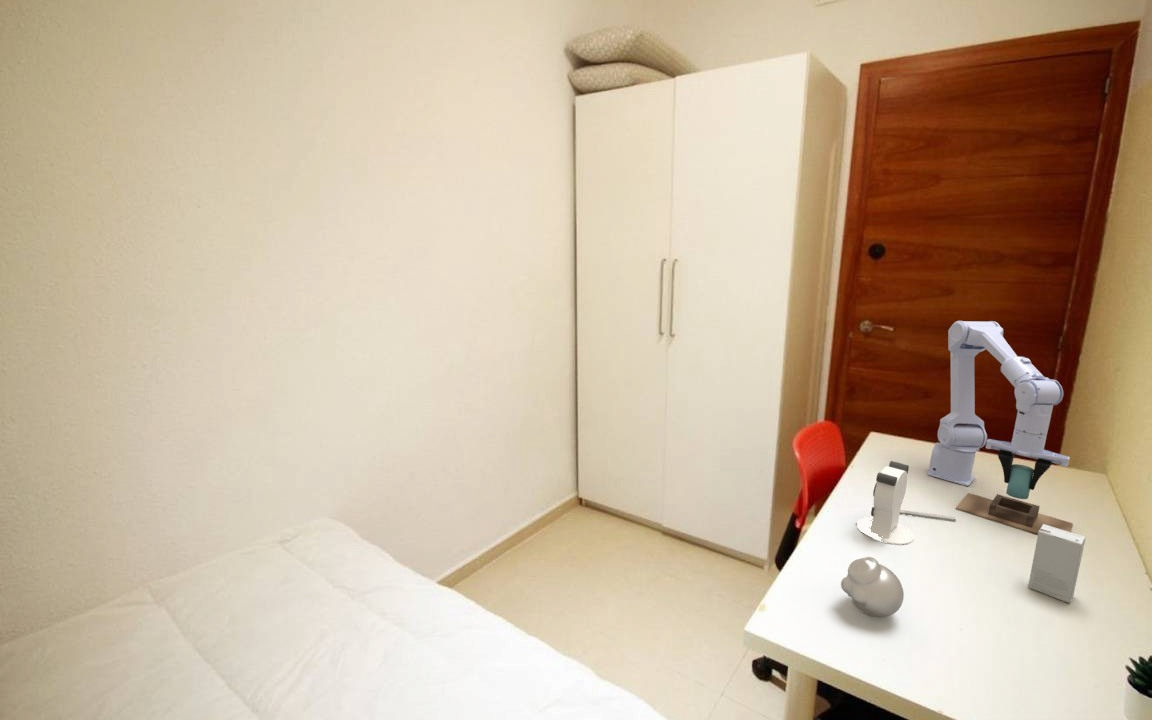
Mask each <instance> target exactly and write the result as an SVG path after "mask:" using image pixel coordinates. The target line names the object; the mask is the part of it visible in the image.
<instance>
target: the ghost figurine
mask: <svg viewBox="0 0 1152 720" xmlns="http://www.w3.org/2000/svg"><path fill="white" fill-rule="evenodd" d="M840 587H841V589H842V591H844V593H845V594H847V596H848V597H850V598H851V603H852V604H853V605H854V606H855V607H856V608H857V609H858V610H859V611H860V612H862V613H863V614H866V615H868V616H869V617H870V616H871V617H874V618H886V617H887V618H888V617H891V616H892V615H894V614H896V613H897V612H898V611H899V610H900V609H901V607H902V606H903V603H904V598H905V597H904V596H905V595H904V588H903V585H902V582H901V581H900V579H899V578H898V576H897V575H896V574H895V573H894V572H893V571H892V570H891V569H890V568H888V567H886V566H884V565H882V564H881V563H879V561H878V560H877V559H876V558H874V557H871V556H866V557H862V558H858V559H857V558H856V559H855V560H853V561H851V563H850V564H849V566H848V569H847V574H846V577H844V578H842V579H841V582H840Z"/></svg>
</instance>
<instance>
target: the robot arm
mask: <svg viewBox="0 0 1152 720" xmlns="http://www.w3.org/2000/svg"><path fill="white" fill-rule="evenodd" d="M947 335H948V337H947V338H948V339H947V340H948V343H947V344H948V347H947V348H948V351H949V352H950V412H949V413H948V414H947V415H945V416H944V417H942V418H940V420H939V427H938V430H937V439H938V442H936V443H934V445H933V448H932V451H931V457H930V461H929V462H930V463H929V467H928V468H929V469H928V472H927V475H928V476H930V477H934V478H938V479H941V480H945V481H948V482H952V483H955V484H959V485H963V486H966V487H969V486H970V484H971V483H972V482H973V481H974V480H975V479H976V476H974V475H973V469H974V463H975V457H976V453H977V452H979V451H980V449H981V448H983V447H984V446H985V449H987V450H994V451H995V450H996V451H999V452H998V454H997V457H998V460H999V462H1000V464H1001V467H1002V468H1001V469H1002V472H1003V483H1005V484H1008V481H1009V476H1010V471H1011V467H1012V465H1013V464H1014V463H1013V462H1014V459H1015V455H1017V456H1021V457H1026V458H1030V459H1034V460H1036V461H1035V462H1034V467H1033V469H1034V473H1033V478H1032V481H1031V484H1030V488H1029V489H1030V490H1031V491H1034V490H1035V488H1036V485H1037V483H1038V481H1039V480H1040V478H1041V477H1042V476H1043V475H1044V474H1045V473H1046V472H1047V471H1049V469H1050V468H1051V466H1052V464H1056V465H1060V466H1061V467H1065V468H1068V466H1069V463H1070V458H1071V457H1070V456H1067V455H1063V454H1061V453H1056V452H1053V451H1050V450H1046V449H1045V445H1046V442H1047V441H1046V440H1047V435H1048V431H1049V427H1050V422H1051V417H1052V413H1053V408H1054V406H1057V405H1058V404H1060V403H1061V402H1062V400H1063V397H1064V390H1063V386H1062V385H1061V384H1060V382H1059V381H1058V380H1057V379H1050V378H1049V377H1046V376H1044V375H1043V374H1042V373H1041V372H1040V370H1038V369H1037V367H1035V365H1033V364H1032V361H1031V360H1030V359H1029V358H1028V357H1025V356H1018V355H1017V354H1016V352H1015V351H1014V350H1013V348H1012V347H1011V345H1010V344H1008V342H1007V340H1006V339H1005V338H1004V328H1003V327H1001V325H1000V324H999V323H998V322H996V321H993V320H990V321H976V320H975V321H972V320H971V321H965V320H964V321H963V320H957V321H955V322H953V324H952V325H951V326H950V327H949V329H948V334H947ZM985 350H986V351H987V352H989V354H990V355H992V357H994V358H995V359H996V360H997V361H998V362H999V363H1000V364H1001V366H1000V372H1001V374H1003V376H1004V377H1005V378H1006V379H1007V380H1008V381H1009V383H1010V384H1011V385H1012V386H1013V387H1014V397H1015V400H1016V402H1015V403H1016V404H1015V407H1016V410H1017V413H1016V419H1015V424H1014V429H1013V434H1012V439H1011V442H1010V441H1005V440H1003V441H1002V440H996V439H991V438H988V434H987V432H986V429H985V421H984V420H983V419H981V417H979V416H978V415H976V413H975V412H976V411H975V409H976V408H975V407H976V404H975V401H976V400H975V399H976V397H975V396H976V395H975V394H976V393H975V392H976V391H975V389H976V388H975V383H976V382H975V357H976V356H977V355H978V354H979V353H981V352H984V351H985Z"/></svg>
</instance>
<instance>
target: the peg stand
mask: <svg viewBox="0 0 1152 720" xmlns="http://www.w3.org/2000/svg"><path fill="white" fill-rule="evenodd" d="M955 510H957V511H960V512H962V513H963V512H964V513H966V514H970V515H973V516H976V517H980V518H982V519H986V520H989V521H992V522H995V523H999V524H1002V525H1005V526H1008V527H1010V528H1014V529H1017V530H1021V531H1024V532H1028V533H1030V534H1033V535H1036V536H1038V531H1039V530H1040V528H1041V527H1042V525H1043V524H1045V525H1048V526H1051V527H1055V528H1058V529H1061V530H1064V531H1068V532H1072V531H1071V530H1072V528H1073V522H1070V521H1066V520H1063V519H1060V518H1056V517H1053V516H1049V515H1047V514H1042V513H1040V512H1039V511H1040V505H1037V504H1034V503H1029V502H1026V501H1023V500H1021V499H1017V498H1014V497H1008V496H1006V495H1001V494H998V493H997V494H996V495H995V497H994V498H993V499H991V498H987V497H984V496H980V495H978V494H974V493H970V492H967V493H966V494H965V496H963V498H962V499H961V500H960V502H959V503H958V504H957V505H956V507H955Z"/></svg>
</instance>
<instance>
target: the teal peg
mask: <svg viewBox="0 0 1152 720" xmlns="http://www.w3.org/2000/svg"><path fill="white" fill-rule="evenodd" d="M1033 474H1034V467H1033V468H1032V467H1030V466H1029V465H1028V466H1027V465H1024V464H1020V463H1019V464H1014V463H1012V467H1011V471H1010V476H1009V481H1008V483H1007V487H1006V495H1008V496H1010V497H1011V498H1013V499H1017V500H1028V499H1029V495H1030V492H1031V491H1030V490H1031V489H1029V488H1030V484H1031V481H1032V478H1033Z"/></svg>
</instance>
